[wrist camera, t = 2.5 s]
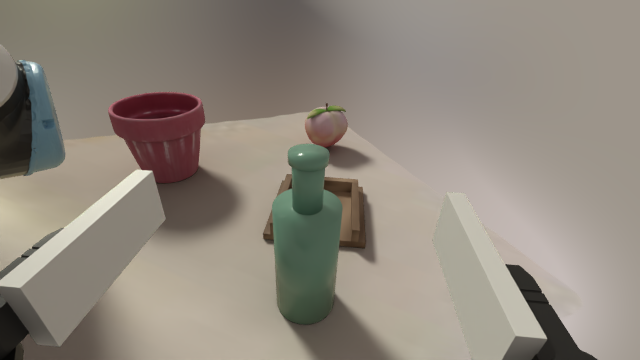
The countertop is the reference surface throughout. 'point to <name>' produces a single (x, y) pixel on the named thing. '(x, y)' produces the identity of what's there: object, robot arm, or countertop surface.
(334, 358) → the countertop surface
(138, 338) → the countertop surface
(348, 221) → the u rest
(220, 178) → the countertop surface
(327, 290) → the green bottle
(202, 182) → the countertop surface
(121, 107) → the plant pot
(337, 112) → the decorative fruit
